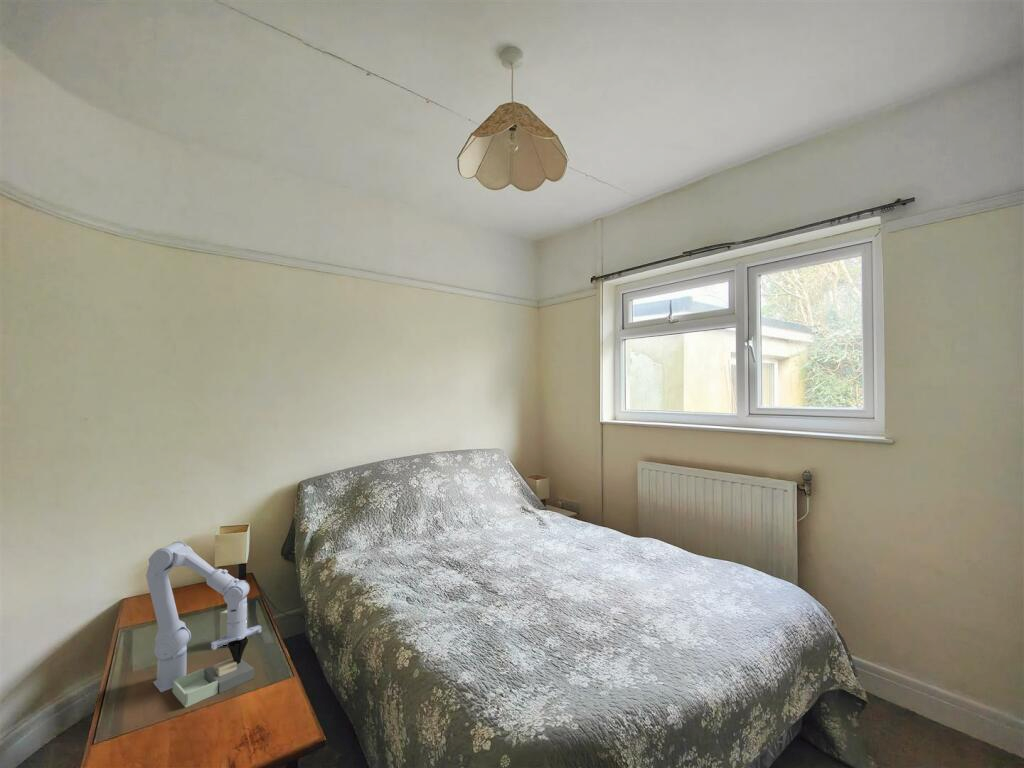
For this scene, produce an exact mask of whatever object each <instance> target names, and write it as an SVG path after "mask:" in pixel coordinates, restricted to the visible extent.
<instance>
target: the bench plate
mask: <svg viewBox="0 0 1024 768" xmlns="http://www.w3.org/2000/svg"><path fill="white" fill-rule="evenodd" d="M230 659H233V657H232V658H230ZM204 679H205V680H206V681H207V682H208V683H212V682H215V681H218V693H217V694H222V693H223V692H226V691H229V690H230V689H233V688H235V687H237V686H240V685H242V684H244V683H247V682H250V680H253V679H255V668H254V667H253V666H251V664H249V663H248V662H246V661H244V660H243V658H241V662H240V663H239V664H237V669H236V670H234V671H231V672H229V673H226V674H224V675H222V676H218V675H217V674H216V673H215V672H214V665H211V666H209V667H206V668H204Z"/></svg>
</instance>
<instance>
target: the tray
mask: <svg viewBox="0 0 1024 768" xmlns="http://www.w3.org/2000/svg"><path fill="white" fill-rule="evenodd" d="M204 669H205V668H204V667H203V668H201V669H198V670H196V671H193V672H191V673H188V674H186V675H185V676H183V677H180V678H178V679H175V680H172V688H171V690H172V694H173V695H174V696H175V697H176V699H177V700H178V701H179V702H180V703H181V704H182V706H183V707H184V708H188V707H190V706H193V705H194V704H196V703H199V702H201V701H204V700H206V699H208V698H210V697H212V696H215V695H218V694H219V693H218V681H215V682H212V683H208V682H207V681H206V680H205V679H204Z"/></svg>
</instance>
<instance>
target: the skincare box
mask: <svg viewBox="0 0 1024 768" xmlns="http://www.w3.org/2000/svg"><path fill="white" fill-rule="evenodd" d="M226 635H227V609H225V610H223V611H221V612H219V639H220V638H222V637H224V636H226ZM226 645H227V644H226Z"/></svg>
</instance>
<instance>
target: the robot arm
mask: <svg viewBox="0 0 1024 768" xmlns="http://www.w3.org/2000/svg"><path fill="white" fill-rule="evenodd" d="M148 562H149V563H148V564H149V565H148V568H147V572H146V575H145V578H146V582H147V585H148V590H149V594H150V598H151V602H152V606H153V611H154V614H155V619H156V622H157V627H158V630H157V632H156V633H157V634H156V635H155V638H154V642H155V646H154V651H153V653H154V656H155V658H157V665H156V680H154V681H153V683H152V684H154V686H155V687H156V688H157V689H158V691H159V692H160V693H164V692H165V691H169V690H172V680H175V679H178V678H180V677H183V676H185V675H187V662H188V661H187V658H188V655H187V651H188V649H187V647H188V645H187V644H189V642H190V641H191V639H192V633H191V631H190V630H189V628H187V626H186V622H184V621H183V620H180V618H179V614H178V610H177V606H176V602H175V597H174V592H173V589H172V586H171V581H170V577H169V574H170V572H171V571H172V569H174V568H177V567H187V569H190V570H191V571H193V572H195V573H196V574H198V575H200V576H201V577H203V578H205V579H206V585H207V586H209V587H210V588H212V589H213V590H215V591H216V592H218V593H219V594H220V595H222V596H223V597H222V598H223V600H224V602H225V603H226V605H227V606H226V607H227V609H226V610H227V635H226V636H224V637H222V638H220V637H219V638H218V639H216V640H213V641H211V642H210V645H211V646H210V648H211V650H213V651H214V650H217V649H218V648H221V647H224V646H223V645H226V644H227V646H226V647H227V648H228V649H229V651H230V653H231V657H232V658H233V660H234V661H235V662H236V663H237V664H239V663H240V662H241V659H242V657H243V654H244V651H245V649H246V646H247V644H248V642H249V638H248V637H250V636H252V635H255V634H260V633H262V626H261V625H259V624H258V625H255V626H252V627H248V594H249V593H250V589H251V587H250V584H249V583H248V582H247V580H245V579H243V580H242V579H239V578H236V577H234V576H232V575H231V574H229V570H227V569H225V568H224V569H222V568H218V569H216V568H215V567H213V566H212V565H210V563H208V562H207V561H205V560H204V559H203V558H202V557H200V556H199V555H198V554H197V553H196V552H194V550H193V548H192V547H191V546H190V545H187V544H186V542H183V541H181V540H180V541H178V540H177V541H174V542H172V543H171V544H168V545H166V546H163V547H162V548H158V549H156V550H155V551H154V552H153V553H152V554H151V556H150V557H149V558H148Z"/></svg>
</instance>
